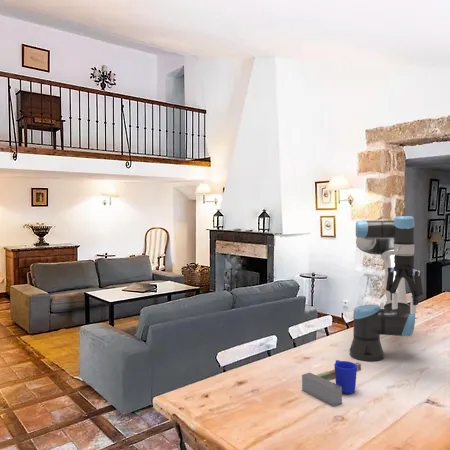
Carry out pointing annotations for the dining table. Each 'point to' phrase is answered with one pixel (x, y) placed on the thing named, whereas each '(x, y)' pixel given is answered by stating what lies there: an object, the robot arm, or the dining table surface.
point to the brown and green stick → (331, 374)
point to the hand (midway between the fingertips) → (403, 310)
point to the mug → (346, 375)
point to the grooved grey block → (322, 389)
